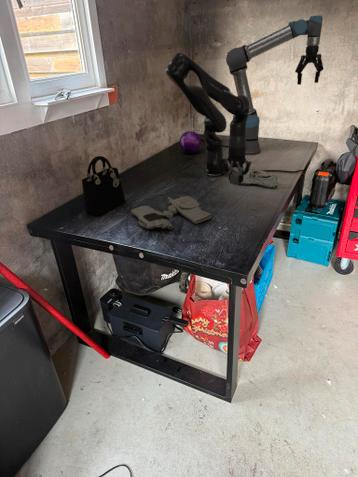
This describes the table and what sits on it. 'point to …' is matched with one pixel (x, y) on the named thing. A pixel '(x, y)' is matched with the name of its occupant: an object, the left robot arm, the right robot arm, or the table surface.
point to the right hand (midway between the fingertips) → (307, 83)
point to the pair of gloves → (170, 213)
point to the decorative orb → (190, 142)
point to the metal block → (234, 178)
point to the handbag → (102, 188)
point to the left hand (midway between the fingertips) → (235, 181)
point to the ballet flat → (260, 179)
